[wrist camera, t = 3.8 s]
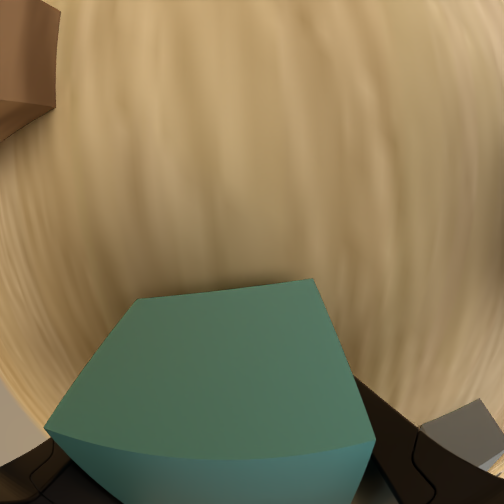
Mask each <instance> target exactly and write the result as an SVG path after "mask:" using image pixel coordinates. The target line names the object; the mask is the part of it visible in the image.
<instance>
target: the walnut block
mask: <svg viewBox="0 0 504 504" xmlns="http://www.w3.org/2000/svg"><path fill="white" fill-rule="evenodd" d="M60 15H61V11H59V10H57V9H56V8H54V7H52V6H50V5H49V4H47V3H45V2H43V1H41V0H0V142H2V141H3V140H5V139H6V138H7V137H9V136H10V135H12V134H13V133H15V132H16V131H17V130H19V129H21V128H22V127H24V126H25V125H27V124H28V123H30V122H31V121H33V120H35V119H36V118H38V117H40V116H41V115H43V114H45V113H47V112H48V111H50V110H52V109H54V108H55V107H56V53H57V40H58V30H59V22H60Z"/></svg>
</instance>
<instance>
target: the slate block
mask: <svg viewBox="0 0 504 504" xmlns="http://www.w3.org/2000/svg"><path fill="white" fill-rule="evenodd" d="M420 430H421V431H423V432H424V433H425V434H426V435H428V436H429V437H430V438H432V439H433V440H434V441H436V442H437V443H438V444H440V445H441V446H443V447H444V448H446V449H447V450H449V451H450V452H452V453H454V454H455V455H457V456H459V457H460V458H462V459H464V460H466V461H468V462H469V463H471V464H473V465H475V466H477V467H479V468H481V469H483V470H485V471H488V470H489V469H490V468H491V466H492V465H493V464H494V463H495V462H496V461H497V460H498V459H499V458H500V457H501V456H502V454H503V453H504V434H503V433H502V431H501V429H500V428H499V426H498V425H497V423H496V422H495V420H494V419H493V417H492V416H491V414H490V413H489V411H488V410H487V408H486V407H485V405H484V404H483V402H482V401H481V400H480V398H479V399H477V400H475V401H473V402H471V403H469V404H467V405H465V406H463V407H461V408H459V409H457V410H455V411H453V412H451V413H449V414H446V415H444V416H442V417H439V418H437V419H435V420H432V421H430V422H427V423H425V424H422V426H421V428H420ZM420 430H419V431H420Z"/></svg>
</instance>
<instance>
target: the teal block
mask: <svg viewBox="0 0 504 504" xmlns="http://www.w3.org/2000/svg"><path fill="white" fill-rule="evenodd" d="M44 429H45V430H46V431H47V433H48V434H49V435H50V436H51V437H52V438H53V440H54V441H55V442H56V443H57V444H58V445H59V446H60V447H61V448H62V449H63V450H64V451H65V452H66V454H67V455H68V456H69V457H70V458H71V459H72V460H73V461H74V462H75V463H76V464H77V465H79V466H80V467H81V468H82V469H83V470H84V471H85V472H86V473H87V474H88V475H89V476H90V477H92V478H93V479H94V480H95V481H96V482H97V483H98V484H100V485H101V486H102V487H103V488H104V489H106V490H107V491H108V492H109V493H111V494H112V495H113V496H114V497H116V498H117V499H118V500H120V501H121V502H122V503H124V504H351V502H352V500H353V497H354V495H355V493H356V491H357V489H358V486H359V484H360V482H361V479H362V477H363V474H364V472H365V469H366V467H367V464H368V461H369V459H370V456H371V453H372V450H373V447H374V445H375V442H376V438H375V435H374V432H373V429H372V426H371V423H370V420H369V418H368V415H367V412H366V409H365V406H364V404H363V401H362V398H361V396H360V393H359V390H358V388H357V385H356V382H355V380H354V377H353V374H352V372H351V369H350V367H349V364H348V362H347V359H346V356H345V354H344V351H343V349H342V346H341V344H340V341H339V339H338V337H337V334H336V332H335V329H334V327H333V324H332V322H331V320H330V317H329V315H328V312H327V310H326V308H325V305H324V303H323V301H322V298H321V296H320V294H319V291H318V289H317V287H316V284H315V282H314V280H313V278H312V279H305V280H298V281H291V282H284V283H276V284H269V285H261V286H253V287H245V288H237V289H229V290H220V291H212V292H203V293H193V294H184V295H174V296H164V297H153V298H142V299H137V300H136V301H135V302H134V303H133V305H132V306H131V307H130V308H129V310H128V311H127V312H126V313H125V315H124V316H123V317H122V318H121V320H120V321H119V322H118V324H117V325H116V326H115V327H114V329H113V330H112V331H111V333H110V334H109V335H108V336H107V338H106V339H105V340H104V342H103V343H102V344H101V346H100V347H99V348H98V350H97V351H96V352H95V354H94V355H93V356H92V358H91V359H90V361H89V362H88V363H87V365H86V366H85V367H84V369H83V370H82V372H81V373H80V374H79V376H78V377H77V379H76V380H75V381H74V383H73V384H72V386H71V387H70V389H69V390H68V391H67V393H66V394H65V396H64V397H63V399H62V400H61V402H60V403H59V405H58V406H57V408H56V409H55V411H54V412H53V414H52V415H51V417H50V418H49V420H48V421H47V423H46V425H45V426H44Z"/></svg>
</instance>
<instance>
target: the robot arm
mask: <svg viewBox="0 0 504 504" xmlns="http://www.w3.org/2000/svg"><path fill="white" fill-rule="evenodd" d="M353 377H354V380H355V382H356V385H357V388H358V390H359V393H360V396H361V398H362V401H363V404H364V406H365V409H366V412H367V415H368V418H369V420H370V423H371V426H372V429H373V432H374V435H375V438H376V442H375V445H374V447H373V450H372V453H371V456H370V459H369V461H368V464H367V467H366V469H365V472H364V474H363V477H362V479H361V482H360V484H359V486H358V489H357V491H356V493H355V495H354V497H353V500H352V502H351V504H504V479H503V478H500V477H497V476H495V475H493V474H491V473H489V472H487V471H485V470H483V469H481V468H479V467H477V466H475V465H473V464H471V463H469V462H468V461H466V460H464V459H462V458H460V457H459V456H457V455H455V454H454V453H452V452H450V451H449V450H447V449H446V448H444V447H443V446H441V445H440V444H438V443H437V442H436V441H434V440H433V439H432V438H430V437H429V436H428V435H426V434H425V433H424V432H423V431H421V430H420V431H419V428H417V427H416V426H415V425H414V424H412V423H411V422H410V421H409V420H407V419H406V418H405V417H404V416H402V415H401V414H400V413H399V412H397V411H396V410H395V409H394V408H393V407H391V406H390V405H389V404H388V403H386V402H385V401H384V400H383V399H382V398H380V397H379V396H378V395H377V394H376V393H374V392H373V391H372V390H371V389H369V388H368V387H367V386H366V385H365V384H363V383H362V382H361V381H360V380H359V379H358V378H356V377H355V376H354V375H353ZM0 504H124V503H122V502H121V501H120V500H118V499H117V498H116V497H114V496H113V495H112V494H111V493H109V492H108V491H107V490H106V489H104V488H103V487H102V486H101V485H100V484H98V483H97V482H96V481H95V480H94V479H93V478H92V477H90V476H89V475H88V474H87V473H86V472H85V471H84V470H83V469H82V468H81V467H80V466H79V465H77V464H76V463H75V462H74V461H73V460H72V459H71V458H70V457H69V456H68V455H67V454H66V452H65V451H64V450H63V449H62V448H61V447H60V446H59V445H58V444H57V443H56V442H55V441H54V440H53V438H52V437H50V438H49V439H48V440H46V441H45V442H43V443H42V444H40V445H39V446H37V447H36V448H34V449H32V450H31V451H29V452H27V453H25V454H24V455H22V456H20V457H18V458H16V459H14V460H12V461H11V462H9V463H7V464H5V465H3V466H1V467H0Z"/></svg>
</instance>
